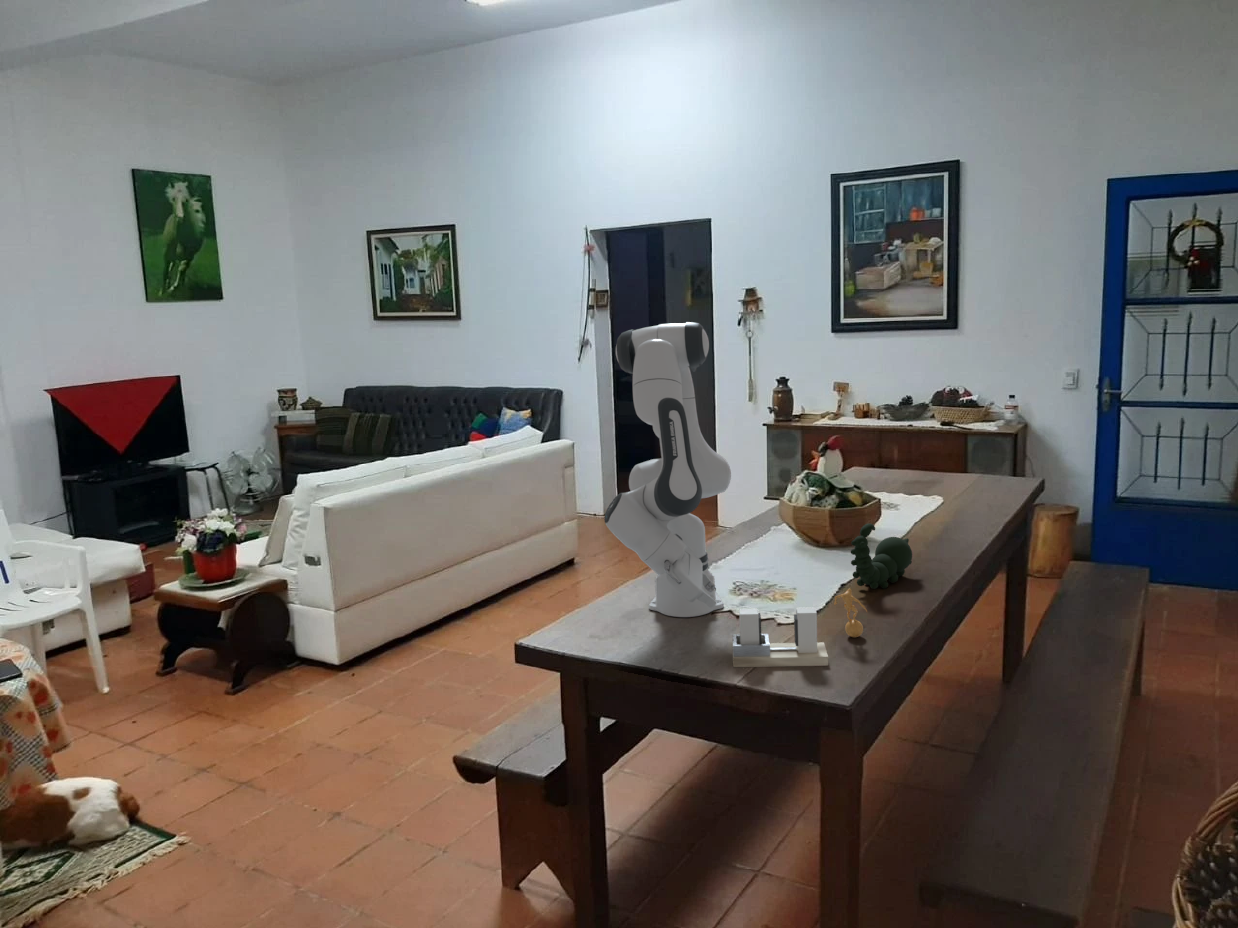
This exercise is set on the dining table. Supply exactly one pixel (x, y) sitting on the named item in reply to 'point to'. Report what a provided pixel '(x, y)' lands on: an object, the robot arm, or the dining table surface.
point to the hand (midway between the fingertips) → (713, 596)
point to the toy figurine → (880, 559)
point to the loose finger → (750, 626)
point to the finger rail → (785, 646)
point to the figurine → (852, 626)
